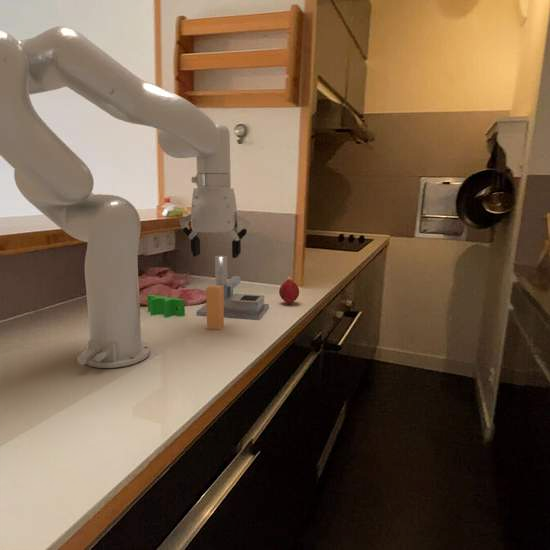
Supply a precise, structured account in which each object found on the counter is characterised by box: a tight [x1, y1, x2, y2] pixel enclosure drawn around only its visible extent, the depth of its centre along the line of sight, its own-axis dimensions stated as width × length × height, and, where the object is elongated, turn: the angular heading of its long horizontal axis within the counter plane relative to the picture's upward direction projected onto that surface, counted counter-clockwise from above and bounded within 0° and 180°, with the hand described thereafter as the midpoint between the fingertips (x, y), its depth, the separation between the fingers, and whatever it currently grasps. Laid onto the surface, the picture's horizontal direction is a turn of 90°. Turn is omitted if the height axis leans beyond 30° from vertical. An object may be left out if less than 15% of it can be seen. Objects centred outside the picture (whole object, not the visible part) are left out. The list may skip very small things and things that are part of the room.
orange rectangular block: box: [205, 284, 225, 331], centre depth 103 cm, size 3×3×10 cm
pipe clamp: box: [146, 294, 186, 318], centre depth 114 cm, size 11×4×5 cm, turn 67°
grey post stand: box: [195, 255, 270, 321], centre depth 121 cm, size 22×17×15 cm
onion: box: [278, 276, 300, 305], centre depth 125 cm, size 6×6×8 cm
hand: (215, 256), depth 101 cm, fingers open, 9 cm apart
